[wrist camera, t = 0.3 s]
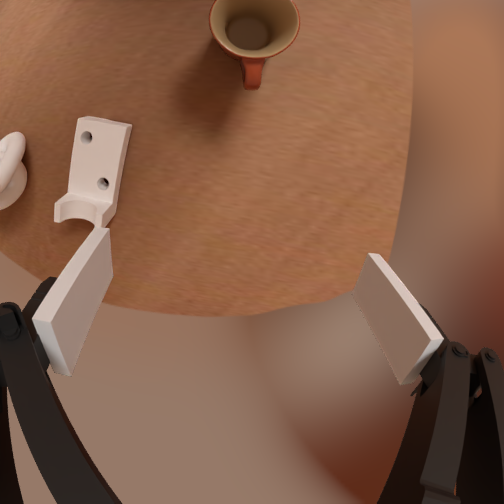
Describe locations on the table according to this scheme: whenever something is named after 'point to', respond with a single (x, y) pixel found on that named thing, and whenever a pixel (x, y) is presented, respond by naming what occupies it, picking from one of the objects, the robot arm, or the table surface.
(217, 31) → the mug
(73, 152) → the bracket
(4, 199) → the white knot
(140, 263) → the table surface
